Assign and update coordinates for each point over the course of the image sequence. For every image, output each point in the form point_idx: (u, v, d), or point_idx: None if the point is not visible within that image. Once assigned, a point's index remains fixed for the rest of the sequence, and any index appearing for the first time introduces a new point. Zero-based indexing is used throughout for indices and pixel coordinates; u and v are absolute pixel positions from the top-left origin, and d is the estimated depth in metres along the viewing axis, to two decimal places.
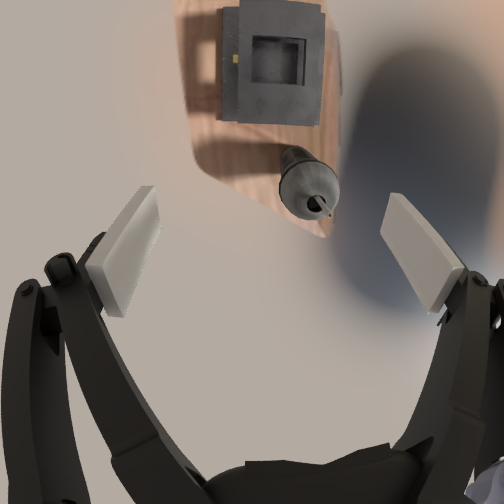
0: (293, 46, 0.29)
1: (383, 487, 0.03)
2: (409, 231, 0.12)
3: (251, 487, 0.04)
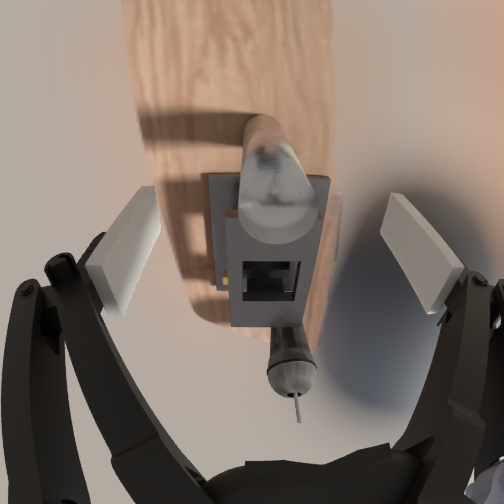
0: None
1: (383, 487, 0.03)
2: (409, 231, 0.12)
3: (251, 487, 0.04)
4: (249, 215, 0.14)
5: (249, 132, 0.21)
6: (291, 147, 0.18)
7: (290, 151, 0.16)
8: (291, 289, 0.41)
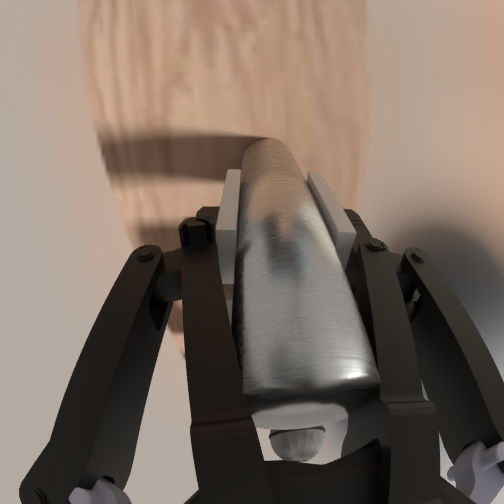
0: None
1: (383, 487, 0.03)
2: None
3: (251, 487, 0.04)
4: None
5: (249, 176, 0.14)
6: (321, 217, 0.11)
7: (326, 242, 0.09)
8: None
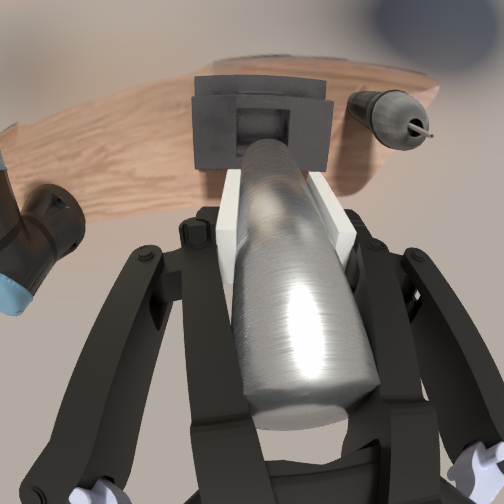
0: None
1: (383, 487, 0.03)
2: None
3: (251, 487, 0.04)
4: None
5: (249, 177, 0.14)
6: (321, 218, 0.11)
7: (326, 243, 0.09)
8: (322, 98, 0.33)
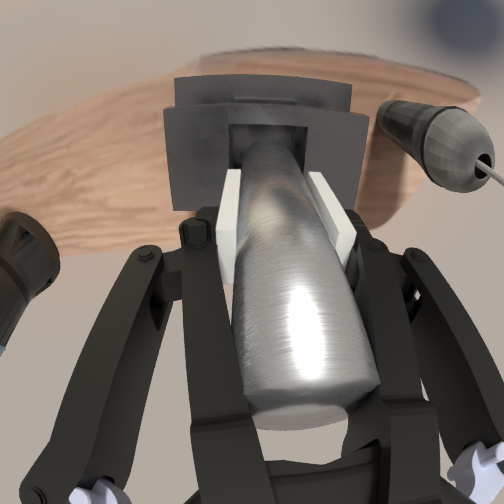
0: None
1: (383, 487, 0.03)
2: None
3: (251, 487, 0.04)
4: None
5: (249, 177, 0.14)
6: (321, 218, 0.11)
7: (326, 243, 0.09)
8: (346, 108, 0.24)
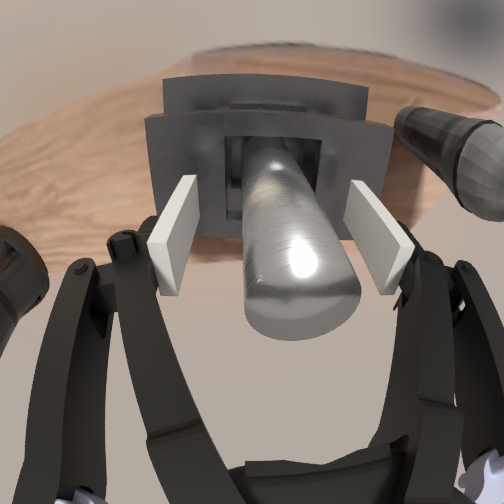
0: None
1: (383, 487, 0.03)
2: (364, 215, 0.13)
3: (251, 487, 0.04)
4: (261, 313, 0.09)
5: (249, 157, 0.17)
6: None
7: (312, 196, 0.12)
8: (362, 115, 0.21)
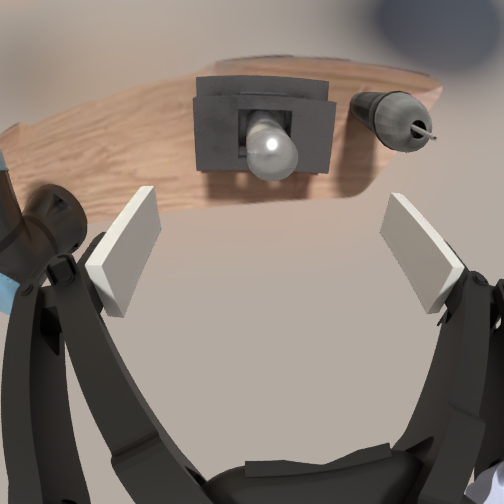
0: None
1: (383, 487, 0.03)
2: (409, 231, 0.12)
3: (251, 487, 0.04)
4: (254, 160, 0.20)
5: (251, 120, 0.29)
6: None
7: (280, 127, 0.23)
8: (325, 99, 0.33)
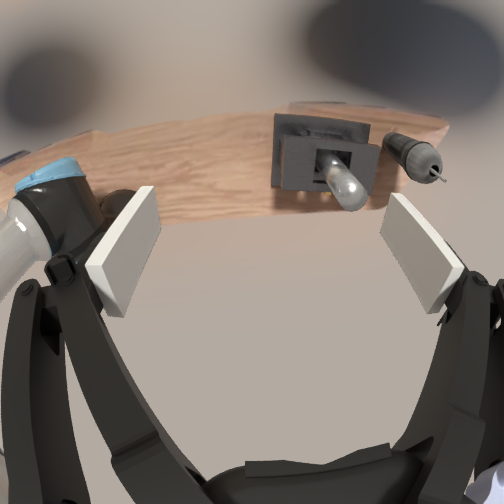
0: None
1: (383, 487, 0.03)
2: (409, 232, 0.12)
3: (251, 487, 0.04)
4: (343, 199, 0.33)
5: (323, 158, 0.41)
6: None
7: None
8: (367, 138, 0.45)
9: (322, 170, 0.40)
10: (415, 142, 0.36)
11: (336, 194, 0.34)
